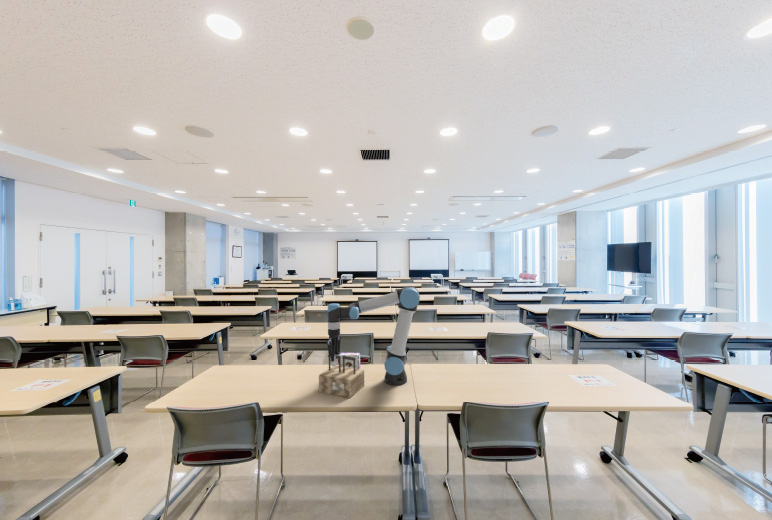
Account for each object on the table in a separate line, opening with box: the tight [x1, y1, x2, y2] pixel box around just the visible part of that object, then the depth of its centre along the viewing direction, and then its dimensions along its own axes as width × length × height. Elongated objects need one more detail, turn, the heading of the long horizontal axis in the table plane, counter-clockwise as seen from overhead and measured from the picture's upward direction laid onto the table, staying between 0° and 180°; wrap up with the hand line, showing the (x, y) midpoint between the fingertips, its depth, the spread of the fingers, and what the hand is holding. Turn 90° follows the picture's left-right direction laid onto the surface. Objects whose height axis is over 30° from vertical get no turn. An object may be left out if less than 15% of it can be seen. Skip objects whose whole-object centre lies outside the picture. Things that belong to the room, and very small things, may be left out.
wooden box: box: [318, 370, 365, 399], centre depth 198 cm, size 22×18×10 cm
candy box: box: [338, 352, 361, 369], centre depth 217 cm, size 14×6×16 cm, turn 84°
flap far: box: [327, 356, 365, 375], centre depth 202 cm, size 22×9×11 cm, turn 66°
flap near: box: [318, 354, 357, 381], centre depth 194 cm, size 22×9×11 cm, turn 66°
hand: (334, 365), depth 200 cm, fingers closed on flap near, 2 cm apart
